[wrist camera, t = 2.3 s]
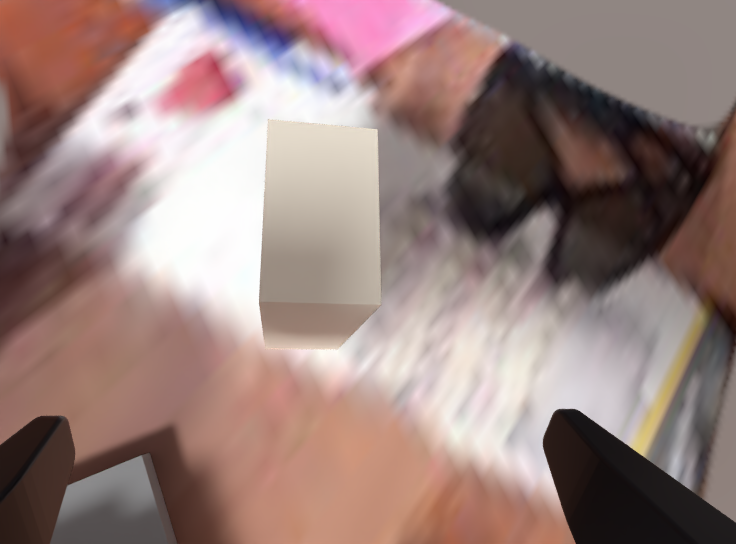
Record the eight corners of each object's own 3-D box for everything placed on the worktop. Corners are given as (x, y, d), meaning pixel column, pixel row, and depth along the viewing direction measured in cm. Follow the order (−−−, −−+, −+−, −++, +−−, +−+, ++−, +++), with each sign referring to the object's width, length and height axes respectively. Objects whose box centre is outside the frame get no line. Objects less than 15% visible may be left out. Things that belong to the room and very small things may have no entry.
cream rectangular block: (337, 349, 21) (381, 305, 12) (265, 348, 20) (258, 301, 12) (338, 227, 22) (377, 113, 14) (270, 224, 22) (269, 103, 13)
